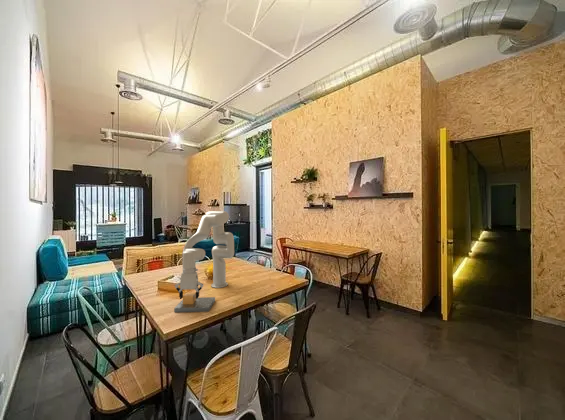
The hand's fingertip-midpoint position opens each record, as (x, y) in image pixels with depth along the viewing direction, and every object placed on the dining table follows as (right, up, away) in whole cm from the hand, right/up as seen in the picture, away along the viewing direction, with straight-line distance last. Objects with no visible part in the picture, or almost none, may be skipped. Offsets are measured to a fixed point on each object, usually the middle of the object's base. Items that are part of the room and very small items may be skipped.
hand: (189, 298), depth 149 cm
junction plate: (+4, -5, 0) cm, 7 cm away
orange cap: (0, -3, 0) cm, 3 cm away
